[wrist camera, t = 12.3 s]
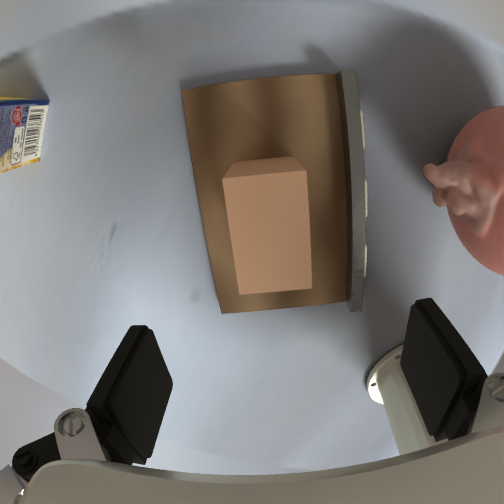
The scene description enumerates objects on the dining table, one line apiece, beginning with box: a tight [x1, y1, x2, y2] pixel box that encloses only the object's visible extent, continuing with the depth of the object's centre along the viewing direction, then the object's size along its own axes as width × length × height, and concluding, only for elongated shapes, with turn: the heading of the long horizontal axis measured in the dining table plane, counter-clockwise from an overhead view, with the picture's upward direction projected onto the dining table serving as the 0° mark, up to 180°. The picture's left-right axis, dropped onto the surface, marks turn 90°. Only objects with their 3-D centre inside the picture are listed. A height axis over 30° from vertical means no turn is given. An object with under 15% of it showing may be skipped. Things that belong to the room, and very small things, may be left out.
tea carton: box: [222, 156, 312, 295], centre depth 23 cm, size 8×5×8 cm, turn 7°
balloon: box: [423, 106, 504, 276], centre depth 18 cm, size 15×20×15 cm
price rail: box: [335, 70, 367, 312], centre depth 26 cm, size 2×22×4 cm, turn 7°
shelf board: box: [181, 74, 347, 314], centre depth 27 cm, size 13×22×2 cm, turn 7°
